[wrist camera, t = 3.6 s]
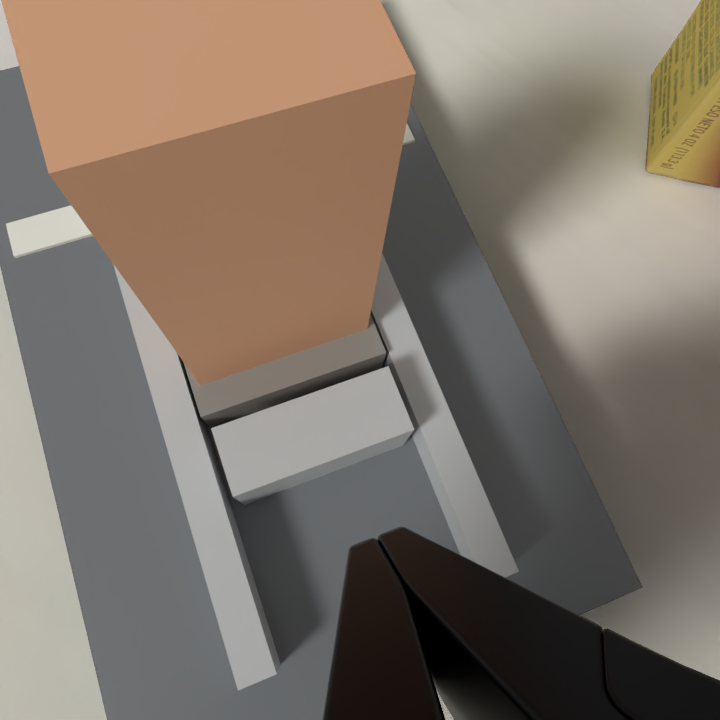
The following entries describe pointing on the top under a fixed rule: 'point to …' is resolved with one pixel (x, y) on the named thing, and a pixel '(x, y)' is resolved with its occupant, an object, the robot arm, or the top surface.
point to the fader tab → (230, 173)
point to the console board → (282, 456)
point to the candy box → (688, 103)
